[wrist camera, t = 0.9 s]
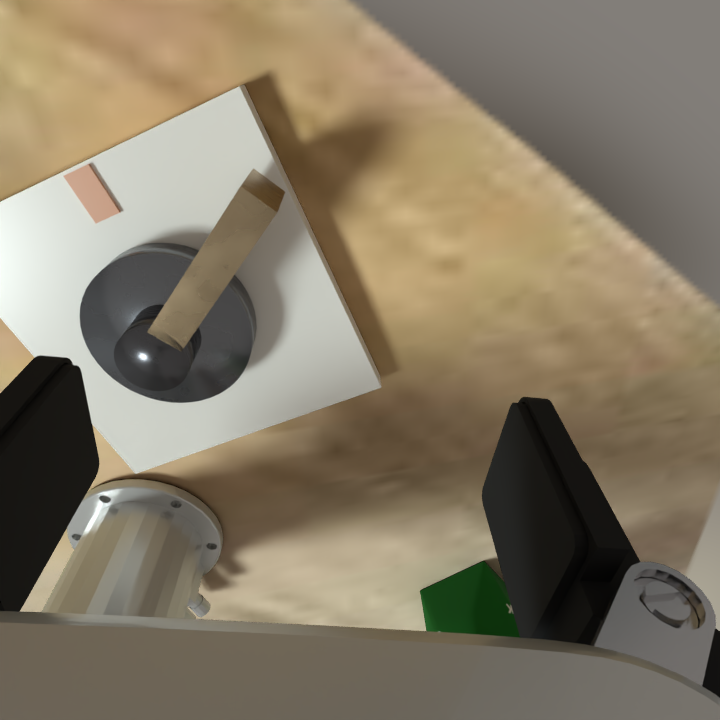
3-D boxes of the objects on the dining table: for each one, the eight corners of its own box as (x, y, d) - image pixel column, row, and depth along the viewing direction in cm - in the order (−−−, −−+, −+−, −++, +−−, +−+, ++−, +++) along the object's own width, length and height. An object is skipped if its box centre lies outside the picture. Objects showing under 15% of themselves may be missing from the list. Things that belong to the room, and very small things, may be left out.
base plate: (380, 375, 38) (381, 389, 36) (141, 460, 41) (134, 475, 40) (244, 84, 28) (238, 86, 26) (-54, 228, 31) (-73, 237, 30)
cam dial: (207, 409, 37) (189, 457, 32) (67, 333, 33) (27, 376, 29) (344, 230, 30) (345, 261, 26) (189, 114, 27) (160, 128, 23)
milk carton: (406, 589, 50) (438, 870, 33) (489, 550, 48) (570, 834, 31) (453, 630, 54) (504, 902, 37) (532, 596, 52) (626, 872, 34)
